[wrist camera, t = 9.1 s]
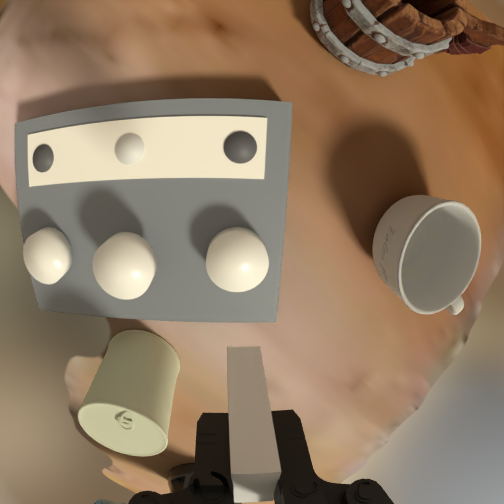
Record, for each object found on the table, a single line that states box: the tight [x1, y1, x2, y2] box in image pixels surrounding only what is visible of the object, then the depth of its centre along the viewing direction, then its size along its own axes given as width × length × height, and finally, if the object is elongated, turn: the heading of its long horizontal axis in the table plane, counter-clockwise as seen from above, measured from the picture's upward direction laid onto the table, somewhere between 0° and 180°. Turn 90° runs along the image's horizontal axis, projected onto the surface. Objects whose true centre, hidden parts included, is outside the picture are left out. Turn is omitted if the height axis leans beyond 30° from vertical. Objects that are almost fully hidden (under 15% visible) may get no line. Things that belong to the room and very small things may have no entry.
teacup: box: [372, 195, 481, 315], centre depth 27 cm, size 14×11×8 cm
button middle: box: [93, 232, 157, 300], centre depth 22 cm, size 5×5×2 cm
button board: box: [15, 98, 293, 323], centre depth 25 cm, size 20×26×3 cm
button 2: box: [23, 227, 73, 284], centre depth 23 cm, size 5×5×2 cm
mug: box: [310, 0, 504, 77], centre depth 16 cm, size 12×14×15 cm
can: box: [78, 329, 180, 456], centre depth 27 cm, size 9×9×12 cm
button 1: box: [206, 227, 269, 292], centre depth 25 cm, size 5×5×2 cm
